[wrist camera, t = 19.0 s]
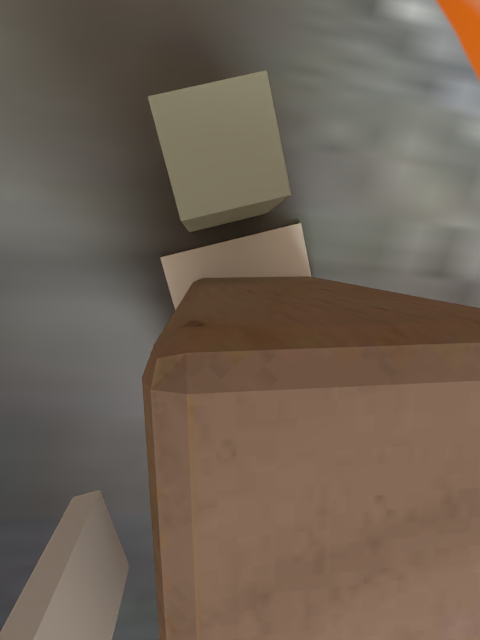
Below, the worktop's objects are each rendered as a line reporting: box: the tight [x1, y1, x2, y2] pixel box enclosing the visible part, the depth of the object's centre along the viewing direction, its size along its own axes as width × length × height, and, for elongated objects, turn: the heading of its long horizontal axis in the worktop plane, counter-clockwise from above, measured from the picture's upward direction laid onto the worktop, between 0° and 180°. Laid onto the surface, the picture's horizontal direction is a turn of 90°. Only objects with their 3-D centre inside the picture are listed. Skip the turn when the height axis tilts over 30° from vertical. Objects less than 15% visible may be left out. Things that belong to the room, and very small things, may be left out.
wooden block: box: [142, 276, 480, 640], centre depth 17 cm, size 10×10×20 cm
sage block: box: [148, 70, 291, 232], centre depth 21 cm, size 6×6×8 cm
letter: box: [160, 223, 311, 310], centre depth 27 cm, size 16×11×1 cm
